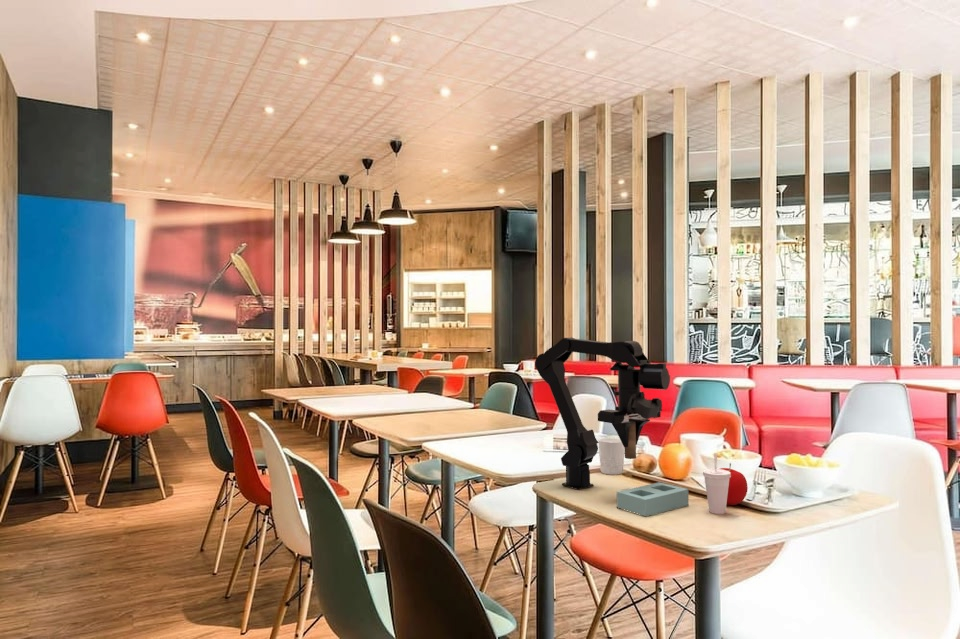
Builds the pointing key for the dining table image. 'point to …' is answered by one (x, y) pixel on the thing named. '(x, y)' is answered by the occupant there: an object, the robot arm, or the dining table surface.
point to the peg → (631, 442)
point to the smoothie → (717, 488)
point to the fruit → (736, 487)
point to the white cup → (611, 455)
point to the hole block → (652, 498)
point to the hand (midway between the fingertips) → (630, 446)
